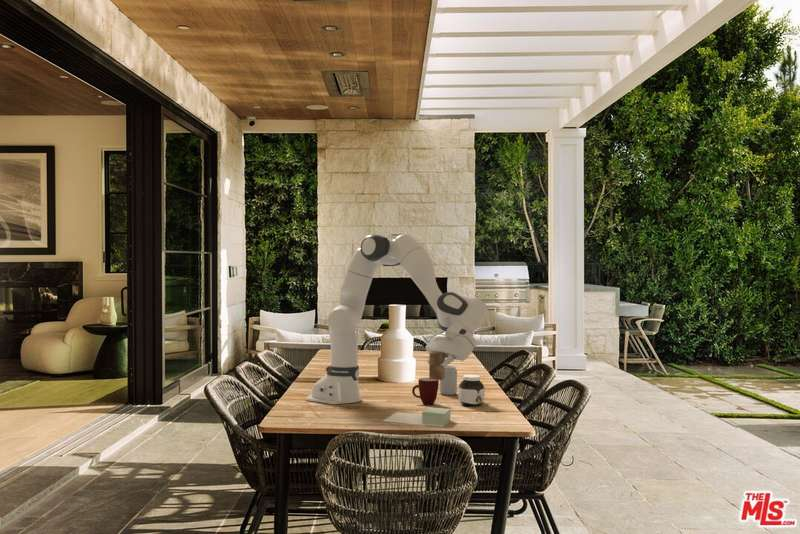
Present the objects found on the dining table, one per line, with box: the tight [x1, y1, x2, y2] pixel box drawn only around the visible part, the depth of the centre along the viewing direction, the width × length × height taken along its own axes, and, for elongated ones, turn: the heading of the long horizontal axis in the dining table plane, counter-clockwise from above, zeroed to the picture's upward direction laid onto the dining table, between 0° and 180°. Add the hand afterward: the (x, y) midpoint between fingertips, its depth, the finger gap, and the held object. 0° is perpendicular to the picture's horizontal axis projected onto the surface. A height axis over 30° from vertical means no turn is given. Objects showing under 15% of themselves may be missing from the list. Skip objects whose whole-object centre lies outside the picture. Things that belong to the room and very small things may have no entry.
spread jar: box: [457, 374, 486, 408], centre depth 277 cm, size 12×11×12 cm
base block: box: [421, 407, 451, 426], centre depth 240 cm, size 8×8×4 cm
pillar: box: [428, 352, 446, 381], centre depth 240 cm, size 4×4×9 cm
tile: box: [382, 411, 454, 428], centre depth 244 cm, size 22×15×1 cm
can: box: [439, 365, 458, 396], centre depth 296 cm, size 8×8×12 cm
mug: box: [411, 377, 440, 406], centre depth 275 cm, size 10×8×10 cm
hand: (435, 364), depth 239 cm, fingers closed on pillar, 6 cm apart
